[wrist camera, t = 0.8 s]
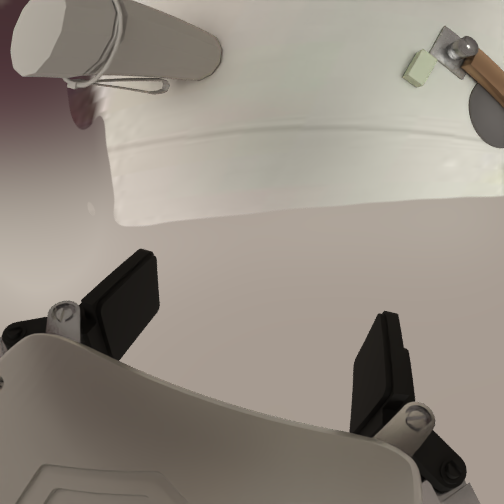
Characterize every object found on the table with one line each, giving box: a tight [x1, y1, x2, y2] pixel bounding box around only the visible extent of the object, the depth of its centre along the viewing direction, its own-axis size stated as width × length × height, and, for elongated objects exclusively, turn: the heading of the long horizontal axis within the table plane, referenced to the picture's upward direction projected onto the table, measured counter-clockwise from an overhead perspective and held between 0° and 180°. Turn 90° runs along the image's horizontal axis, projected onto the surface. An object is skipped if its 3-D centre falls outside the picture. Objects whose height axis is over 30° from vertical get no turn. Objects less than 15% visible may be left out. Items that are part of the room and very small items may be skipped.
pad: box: [469, 83, 504, 148], centre depth 24 cm, size 9×9×1 cm
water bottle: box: [10, 0, 222, 94], centre depth 22 cm, size 9×8×25 cm
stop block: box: [402, 49, 437, 87], centre depth 25 cm, size 4×2×3 cm, turn 153°
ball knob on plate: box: [429, 26, 478, 79], centre depth 21 cm, size 5×5×6 cm
